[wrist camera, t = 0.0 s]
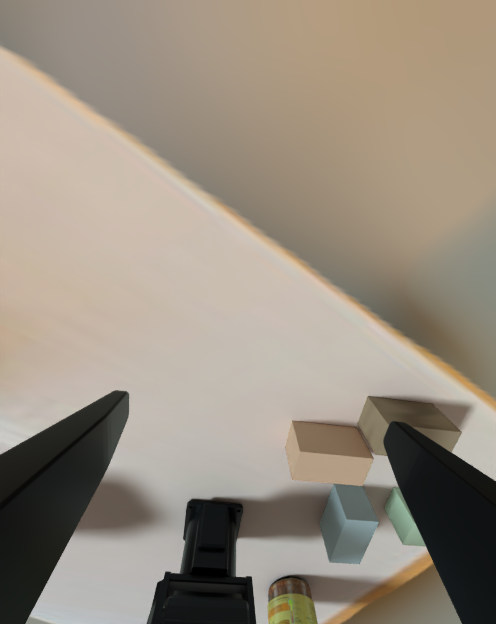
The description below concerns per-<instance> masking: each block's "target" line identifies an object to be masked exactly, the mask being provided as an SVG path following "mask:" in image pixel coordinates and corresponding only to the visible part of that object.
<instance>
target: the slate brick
mask: <svg viewBox="0 0 496 624" xmlns="http://www.w3.org/2000/svg"><path fill="white" fill-rule="evenodd" d="M378 523H379V521H378V518H377V516H376V514H375V512H374V510H373V508H372V505H371V503H370V501H369V499H368V497H367V495H366V492H365V490H364V488H363V486H354V485H343V484H334V485H333V488H332V490H331V493H330V496H329V499H328V502H327V505H326V507H325V510H324V513H323V516H322V519H321V522H320V528H321V532H322V536H323V540H324V543H325V547H326V551H327V555H328V559H329V562H332V563H349V564H360V562H361V560H362V558H363V556H364V554H365V551H366V549H367V547H368V545H369V543H370V541H371V538H372V536H373V534H374V532H375V530H376V528H377V525H378Z"/></svg>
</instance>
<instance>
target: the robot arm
mask: <svg viewBox="0 0 496 624" xmlns="http://www.w3.org/2000/svg"><path fill="white" fill-rule="evenodd" d="M128 415H129V393H128V392H127V391H118V390H115V391H113V392H111V393H109V394H108V395H106V396H104V397H102V398H100V399H99V400H97V401H95V402H93V403H92V404H90V405H88V406H86V407H84V408H83V409H81V410H79V411H77V412H76V413H74V414H72V415H70V416H68V417H67V418H65V419H63V420H61V421H59V422H58V423H56V424H54V425H52V426H51V427H49V428H47V429H45V430H43V431H42V432H40V433H38V434H36V435H35V436H33V437H31V438H29V439H27V440H26V441H24V442H22V443H20V444H19V445H17V446H15V447H13V448H11V449H10V450H8V451H6V452H4V453H3V454H1V455H0V624H25V623H26V621H27V619H28V617H29V615H30V614H31V612H32V610H33V608H34V606H35V604H36V602H37V600H38V598H39V597H40V595H41V593H42V591H43V589H44V587H45V585H46V583H47V581H48V580H49V578H50V576H51V574H52V572H53V570H54V568H55V566H56V565H57V563H58V561H59V559H60V557H61V555H62V553H63V551H64V549H65V548H66V546H67V544H68V542H69V540H70V538H71V536H72V534H73V532H74V531H75V529H76V527H77V525H78V523H79V521H80V519H81V517H82V515H83V514H84V512H85V510H86V508H87V506H88V504H89V502H90V500H91V499H92V497H93V495H94V493H95V491H96V489H97V487H98V485H99V483H100V482H101V480H102V478H103V476H104V474H105V472H106V470H107V468H108V466H109V464H110V461H111V459H112V456H113V454H114V452H115V449H116V447H117V444H118V442H119V439H120V437H121V434H122V432H123V429H124V427H125V424H126V422H127V419H128ZM383 444H384V448H385V451H386V453H387V456H388V459H389V462H390V464H391V467H392V470H393V472H394V475H395V478H396V481H397V483H398V486H399V489H400V491H401V493H402V496H403V498H404V500H405V502H406V505H407V507H408V509H409V511H410V513H411V515H412V517H413V520H414V522H415V524H416V526H417V528H418V530H419V532H420V535H421V537H422V539H423V541H424V543H425V545H426V547H427V550H428V552H429V554H430V556H431V558H432V560H433V562H434V565H435V567H436V569H437V571H438V573H439V575H440V577H441V580H442V582H443V584H444V586H445V588H446V590H447V592H448V595H449V596H450V599H451V601H452V603H453V605H454V608H455V610H456V612H457V614H458V616H459V618H460V620H461V623H462V624H496V481H494V480H493V479H491V478H490V477H488V476H487V475H485V474H484V473H482V472H480V471H479V470H477V469H476V468H474V467H473V466H471V465H470V464H468V463H467V462H465V461H464V460H462V459H461V458H459V457H457V456H456V455H454V454H453V453H451V452H450V451H448V450H447V449H445V448H444V447H442V446H441V445H439V444H438V443H436V442H434V441H433V440H431V439H430V438H428V437H427V436H425V435H424V434H422V433H421V432H419V431H418V430H416V429H415V428H413V427H411V426H410V425H408V424H407V423H405V422H402V421H391V422H390V424H389V426H388V429H387V431H386V433H385V436H384V439H383ZM242 513H243V506H242V505H240V504H228V503H216V502H203V501H189V502H188V503H187V509H186V518H185V527H184V536H183V539H184V540H185V546H184V552H183V558H182V564H181V569H180V574H178V573H171V572H165V576H164V579H163V580H162V581H160V582H158V583H157V586H156V591H155V595H154V600H153V604H152V607H151V611H150V614H149V617H148V621H147V624H256V617H255V606H254V596H253V585H252V577H251V576H246V577H236V541H237V536H238V531H239V527H240V522H241V517H242Z"/></svg>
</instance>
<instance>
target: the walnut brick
mask: <svg viewBox="0 0 496 624" xmlns="http://www.w3.org/2000/svg"><path fill="white" fill-rule="evenodd" d="M391 421H402V422H405V423H407V424H408V425H410V426H411V427H413V428H415V429H416V430H418V431H419V432H421V433H422V434H424V435H425V436H427V437H428V438H430V439H431V440H433V441H434V442H436V443H438V444H439V445H441V446H442V447H444V448H445V449H447V450H448V451H450V452H452V450H453V448H454V446H455V445H456V443H457V441H458V439H459V437H460V435H461V433H462V432H461V431H460V430H459V429H458V428H457V427H456V426H455V425H454V424H453V423H452V422H451V421H450V420H449V419H448V418H447V417H445V416H444V415H443V414H442V413H441V412H440V411H439V410H438V409H437V408H436V407H435V406H434V405H433V404H429V403H421V402H412V401H404V400H395V399H387V398H378V397H370V396H368V397H367V400H366V402H365V405H364V408H363V411H362V413H361V416H360V419H359V422H358V425H359V427H360V429H361V430H362V432H363V434H364V436H365V437H366V439H367V441H368V443H369V444H370V446H371V448H372V450H373V451H374V453H375V455H384V456H387V453H386V451H385V448H384V444H383V439H384V436H385V433H386V431H387V429H388V426H389V424H390V422H391Z"/></svg>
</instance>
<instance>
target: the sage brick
mask: <svg viewBox="0 0 496 624" xmlns="http://www.w3.org/2000/svg"><path fill="white" fill-rule="evenodd" d="M384 508H385V510H386V512H387V514H388V516H389V518H390V520H391V522H392V524H393V526H394V528H395V530H396V532H397V534H398V536H399V538H400V540H401V542H402V544H403V545H414V546H426V545H425V543H424V541H423V539H422V537H421V535H420V532H419V530H418V528H417V526H416V524H415V522H414V520H413V517H412V515H411V513H410V511H409V509H408V507H407V505H406V502H405V500H404V498H403V496H402V493H401V491H400V489H399V488H396V487H394V488H393V490H392V492H391V494H390V497H389V499H388V501H387V503H386V505H385V507H384Z"/></svg>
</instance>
